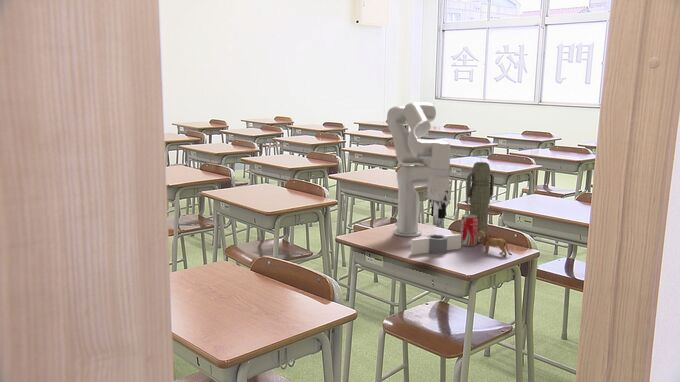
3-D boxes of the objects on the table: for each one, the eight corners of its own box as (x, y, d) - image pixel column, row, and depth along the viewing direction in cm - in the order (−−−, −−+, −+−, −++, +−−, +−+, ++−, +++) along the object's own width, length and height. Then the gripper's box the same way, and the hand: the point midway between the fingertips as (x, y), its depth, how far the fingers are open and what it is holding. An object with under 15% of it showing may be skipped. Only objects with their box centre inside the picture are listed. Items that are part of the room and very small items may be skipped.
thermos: (494, 242, 249) (499, 163, 243) (471, 244, 246) (475, 164, 240) (483, 238, 258) (487, 161, 252) (460, 239, 254) (464, 161, 248)
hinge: (406, 251, 233) (406, 237, 232) (454, 245, 244) (454, 232, 242) (417, 256, 226) (417, 242, 225) (465, 250, 236) (466, 236, 235)
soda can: (475, 243, 248) (477, 214, 246) (477, 247, 241) (479, 217, 239) (458, 242, 249) (460, 213, 247) (460, 246, 242) (462, 217, 240)
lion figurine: (474, 252, 233) (475, 231, 232) (477, 249, 238) (478, 228, 237) (510, 258, 227) (512, 236, 225) (513, 254, 231) (514, 233, 230)
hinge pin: (430, 224, 234) (431, 200, 232) (438, 223, 235) (439, 199, 234) (436, 226, 230) (437, 201, 228) (444, 225, 232) (445, 201, 230)
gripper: (420, 170, 235) (418, 214, 238) (444, 175, 220) (442, 221, 223) (435, 169, 238) (433, 212, 241) (460, 174, 223) (458, 220, 226)
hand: (438, 216), depth 232 cm, fingers closed on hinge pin, 4 cm apart
